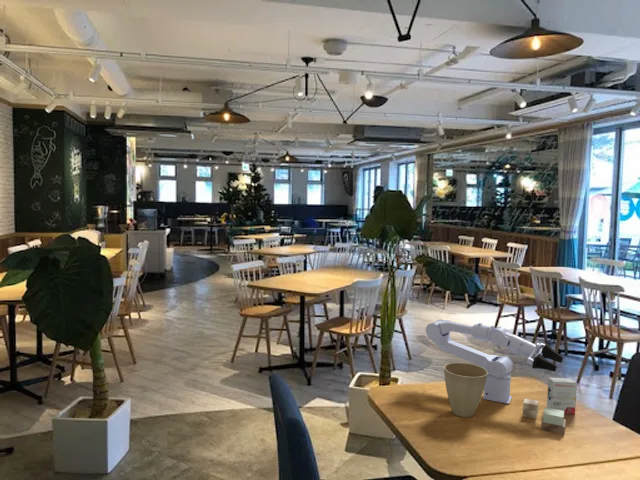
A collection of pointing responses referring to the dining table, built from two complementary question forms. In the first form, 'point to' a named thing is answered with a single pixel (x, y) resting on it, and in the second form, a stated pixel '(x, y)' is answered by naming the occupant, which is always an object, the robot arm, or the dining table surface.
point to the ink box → (562, 394)
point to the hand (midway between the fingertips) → (559, 364)
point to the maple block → (530, 408)
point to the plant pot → (464, 387)
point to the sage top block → (553, 416)
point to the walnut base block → (553, 427)
